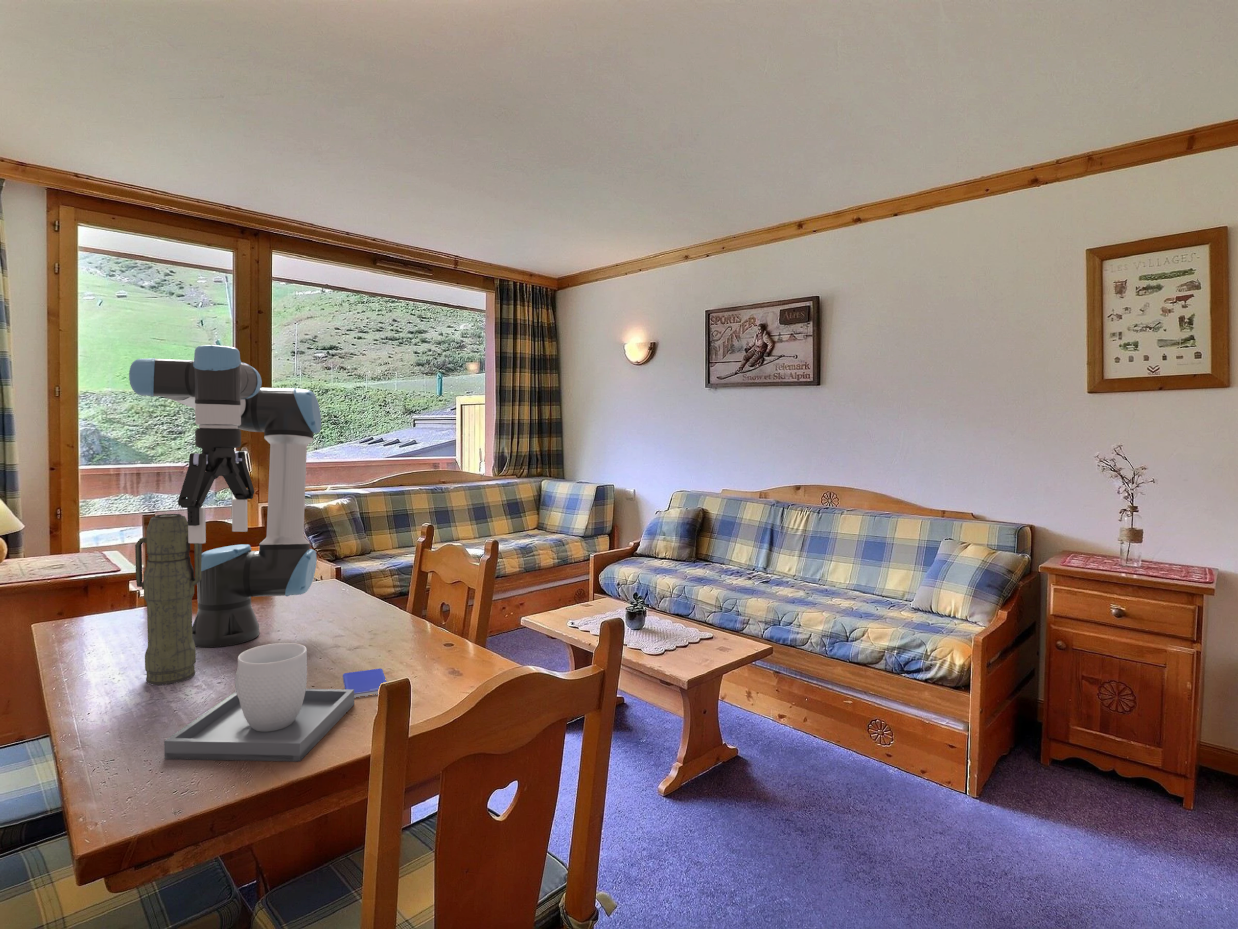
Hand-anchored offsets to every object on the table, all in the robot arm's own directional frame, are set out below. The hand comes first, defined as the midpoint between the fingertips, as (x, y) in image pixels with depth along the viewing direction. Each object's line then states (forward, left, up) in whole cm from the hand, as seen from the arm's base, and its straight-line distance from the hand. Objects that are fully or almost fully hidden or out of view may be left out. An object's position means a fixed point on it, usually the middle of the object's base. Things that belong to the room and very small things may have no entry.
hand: (219, 537), depth 126 cm
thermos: (-12, -18, -33) cm, 39 cm away
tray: (+11, +15, -33) cm, 38 cm away
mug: (+10, +15, -32) cm, 37 cm away
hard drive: (-10, +24, -34) cm, 43 cm away
